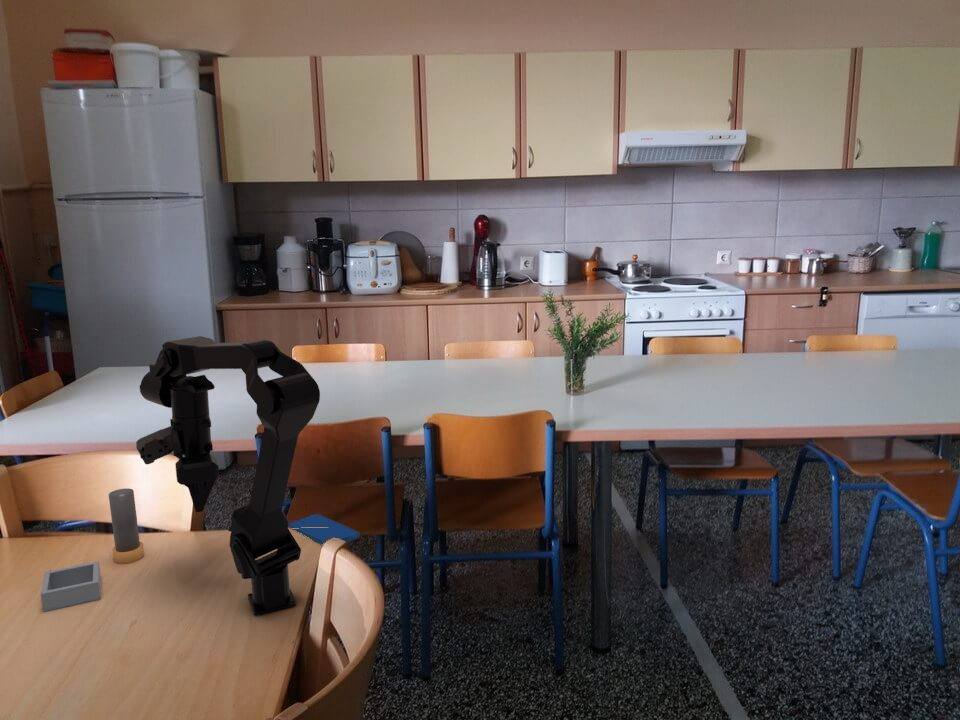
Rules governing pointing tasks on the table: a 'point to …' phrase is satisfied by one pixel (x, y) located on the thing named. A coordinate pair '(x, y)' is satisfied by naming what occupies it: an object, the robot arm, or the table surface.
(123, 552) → the plug
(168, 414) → the table surface
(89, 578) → the socket
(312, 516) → the smartphone
